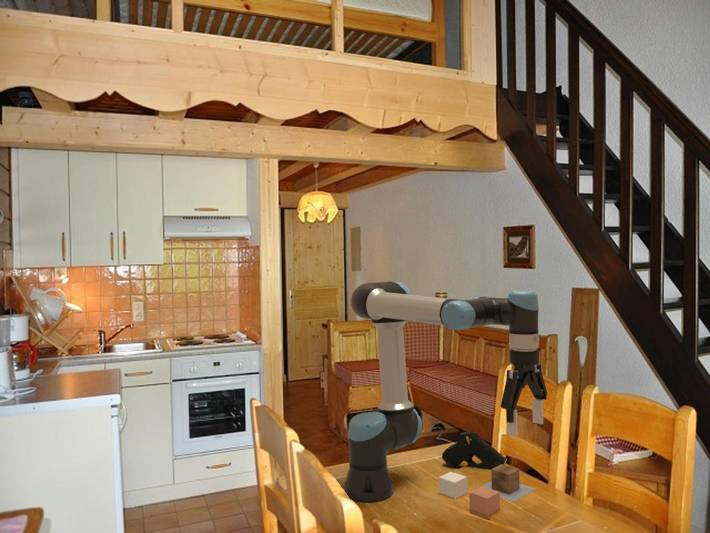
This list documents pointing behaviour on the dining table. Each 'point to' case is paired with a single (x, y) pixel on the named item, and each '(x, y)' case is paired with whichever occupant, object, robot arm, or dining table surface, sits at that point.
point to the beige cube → (453, 485)
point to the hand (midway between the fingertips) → (525, 428)
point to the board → (514, 495)
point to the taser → (472, 452)
